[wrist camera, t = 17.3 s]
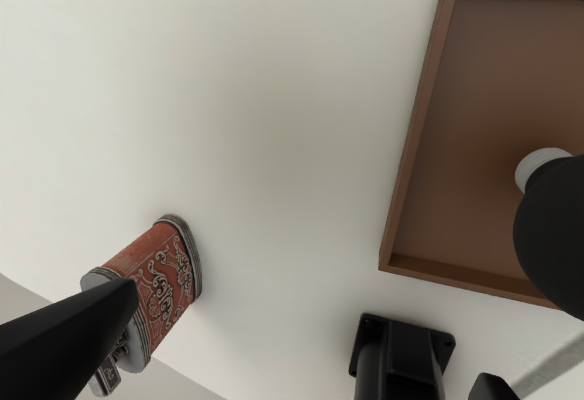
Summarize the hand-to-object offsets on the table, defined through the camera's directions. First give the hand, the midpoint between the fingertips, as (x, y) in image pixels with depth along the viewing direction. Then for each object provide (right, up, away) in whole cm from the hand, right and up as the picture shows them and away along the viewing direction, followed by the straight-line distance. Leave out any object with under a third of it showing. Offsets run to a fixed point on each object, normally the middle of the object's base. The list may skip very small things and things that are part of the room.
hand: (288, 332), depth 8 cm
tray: (+13, +5, +9) cm, 16 cm away
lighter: (-9, -1, +18) cm, 20 cm away
